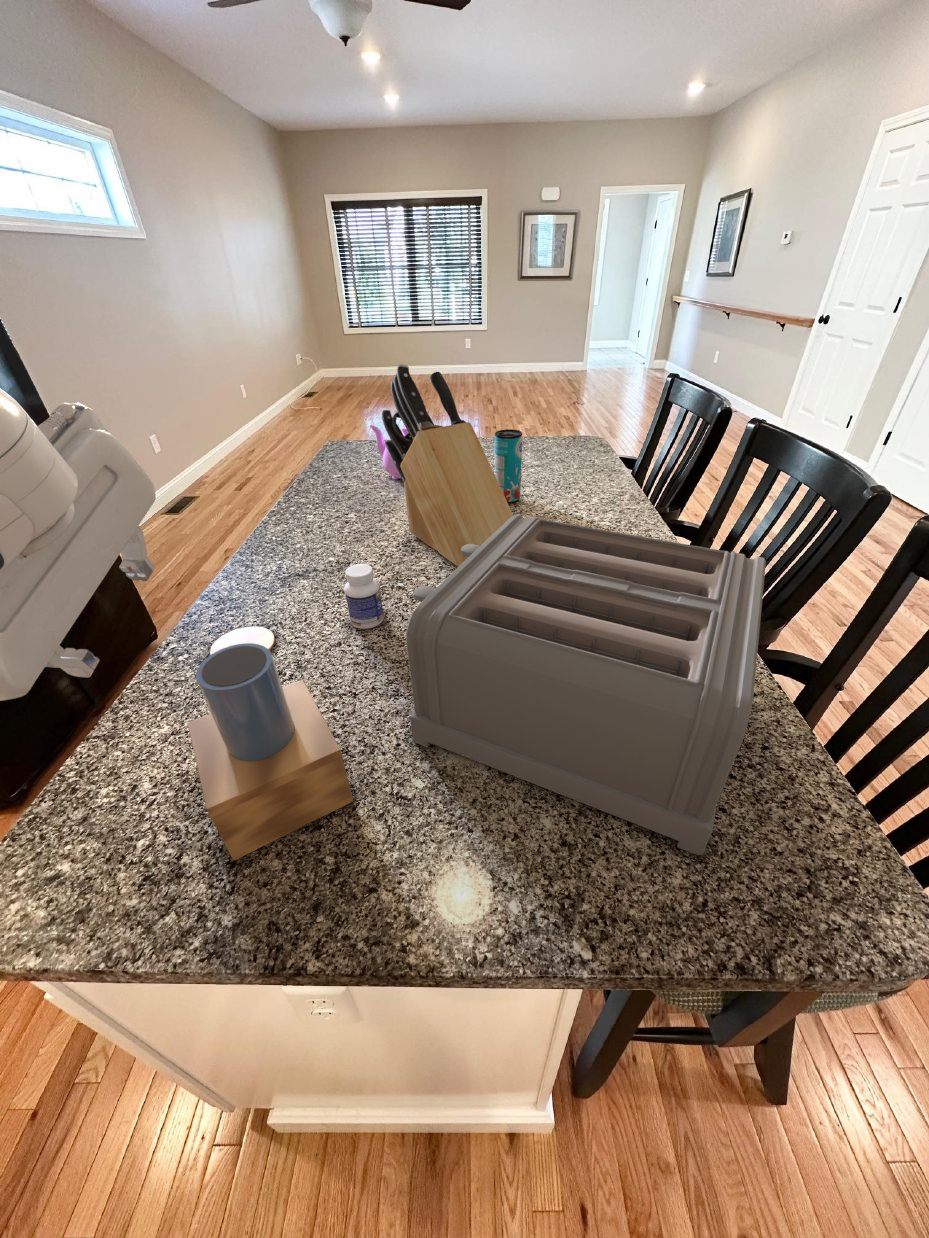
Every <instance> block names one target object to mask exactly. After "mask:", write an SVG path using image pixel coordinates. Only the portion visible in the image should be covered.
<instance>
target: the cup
mask: <svg viewBox="0 0 929 1238" xmlns="http://www.w3.org/2000/svg"><path fill="white" fill-rule="evenodd" d="M195 680H196V682H197V685H198V687H199V690H200V691H201V694H202V696H203V698H204V701H205V703H206V705H207V708H208V709H209V713H210V714H212V716H213V719H214V721H215V723H216V726H217V728H218V730H219V732H220V735H221V737H222V739H223V741H224V744H225V746H226V748H227V750H228V752H229V754H230V755H231V756H232V757H234V758H235V759H238V760H241V761H258V760H262V759H265V758H268V757H270V756H272V755H274V754H276V753H278V752H279V751H281V750H282V749H283V748H284V747H285V746H286V745H287V744H288V743H289V742H290V740H291V738H292V736H293V734H294V728H295V727H294V723H293V719H292V716H291V713H290V710H289V707H288V704H287V701H286V697H285V694H284V691H283V688H282V687H283V685H282V681H281V678H280V675H279V672H278V669H277V666H276V663H275V660H274V656H273V654H272V651H271V650H269V649H267V648H266V647H264V646H262V645H259V644H252V643H245V644H237V645H233V646H229V647H226V648H223V649H221V650H219V651H217V652H215V653H213V654H212V655H210V654H209V656H208V657H206V658H204V660H203V661H202V662H201V663H200V665H199V666H198V668H197V669H196V672H195Z"/></svg>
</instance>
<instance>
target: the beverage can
mask: <svg viewBox="0 0 929 1238" xmlns="http://www.w3.org/2000/svg"><path fill="white" fill-rule="evenodd" d="M522 458H523V432H522V431H521V430H518V429H512V428H511V429H508V428H507V429H500V430H497V431H495V432H494V475H495V477H496V479H497V481H498V483H499V485H500V488H501V490H502V492H503V494H504V496H505V499H506V501H507V503H508V505H511V504H515V503H517V502H519V501H520V499H521V493H522V492H521V489H522V465H523V464H522V460H523V459H522Z"/></svg>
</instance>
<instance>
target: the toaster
mask: <svg viewBox="0 0 929 1238" xmlns="http://www.w3.org/2000/svg"><path fill="white" fill-rule="evenodd" d="M461 554H462V555H463V556H466V557H468V558H467V559H466V560H465V561H464V562H463V563H462V564H461V565H460V566H459V567H456V569H454V571H453V572H452V573H450V575H448V576H447V577H446V578H445V579H444V580H442V582H441V583H440V584H439V585H438V586H437V587H433V586H429V585H421V586H418V587H416V588H415V589H414V590H413V599H414V600H415V601H417V602H420V603H419V604H418V605H417V606H416V607H415V608H414V610H413V611H412V613H411V615H410V618H409V621H408V623H407V627H406V629H405V630H406V631H405V644H406V652H407V660H408V667H409V676H410V684H411V693H412V701H413V707H414V708H413V712H411V714H410V717H409V720H410V721H409V722H410V728H411V736H412V737H411V738H412V741H413V743H415V744H417V745H420V746H422V747H425V748H429V746H430V745H433V746H436V747H439V748H442V749H444V750H447V751H449V752H452V753H454V754H458V755H460V756H462V757H464V758H467V759H469V760H472V761H475V762H477V763H480V764H483V765H485V766H487V767H490V768H493V769H495V770H497V771H500V772H503V773H506V774H507V775H511V776H512V777H515V778H518V779H520V780H523V781H526V782H528V783H531V784H533V785H536V786H538V787H540V788H544V789H545V790H548V791H551V792H554V793H556V794H558V795H561V796H563V797H566V798H569V799H570V800H571V799H572V800H574V801H577V802H579V803H582V804H584V805H587V806H590V807H591V808H594V809H596V810H598V811H601V812H604V813H607V814H610V815H612V816H615V817H617V818H620V819H621V820H625V821H628V822H630V823H632V824H634V825H637V826H640V827H642V828H645V829H648V830H651V831H653V832H655V833H658V834H660V835H663V836H665V837H667V838H670V839H672V840H674V841H677V845H676V848H678V849H679V850H683V851H686V852H688V853H691V854H693V855H696V856H702V855H703V854H704V852H705V850H706V847H707V845H708V843H709V840H710V838H711V835H712V833H713V831H714V825H715V819H716V811H717V806H718V805H717V804H718V802H719V800H720V797H721V796H722V795H721V794H722V793H723V790H724V787H725V785H726V783H727V780H728V778H729V776H730V773H731V770H732V768H733V765H734V763H735V761H736V758H737V756H738V754H739V751H740V749H741V746H742V744H743V740H744V738H745V735H746V732H747V729H748V725H749V722H750V718H751V714H752V708H753V702H754V696H755V695H754V694H755V683H756V682H755V681H756V673H757V663H758V662H757V661H758V650H759V641H760V640H759V639H760V631H761V619H762V608H763V598H764V597H763V596H764V588H765V587H764V586H765V576H766V565H767V560H766V559H765V557H762V556H756V557H754V558H748V557H746V555H745V554H744V553H739V552H736V551H735V550H732V551H731V552H730V551H728V550H722V549H715V548H709V547H705V546H699V545H694V544H693V545H692V544H687V543H681V542H675V541H670V540H663V539H658V538H652V537H647V536H642V535H641V536H640V535H635V534H630V533H625V532H624V533H623V532H619V531H618V532H617V531H612V530H608V529H607V530H606V529H600V528H595V527H589V526H584V525H579V524H573V523H566V522H561V521H555V520H549V519H544V518H541V517H539V516H536V517H534V516H528V517H526V518H524V517H523V516H522V515H521V514H513V516H512V517H511V518H510V519H509V520H508V521H506V522H505V523H504V524H503V525H502V526H501V527H500V528H499V529H498V530H497V531H496V532H495V533H494V534H493V535H492V536H491V537H490V538H488V539H487V540H486V541H485V542H484V543H483V544H482V545H481V546H479V545H474V544H467V545H464V546H463V547H462V548H461Z"/></svg>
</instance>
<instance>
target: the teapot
mask: <svg viewBox="0 0 929 1238" xmlns="http://www.w3.org/2000/svg"><path fill="white" fill-rule="evenodd" d="M369 428H371V430H372V431H373V432H374V434H375V437H376V446H377V451H378V454H379V455H380V457H382V467H383V469H384V470H385V471H386V472H387V473H388V474H389V475H390V476H392V477H391V479H392V480H401V479H402V478H401V476H400V474H399V472H398V470H397V468H396V466H395V464H394V461H393V459H392V457H391V455H390V453H389V451H388V449H387V448H386V445H385V441H386V440H385V439H384V436H383V433H382V431H381V429H380V428H379V427H377V426H375V425H372V424H369ZM401 432H402V433H403V435H404V436H405V435H407V434H408V433H409V432H408V430H407V428H406V427H405V426H403V427H401ZM388 440H391V439H390V438H388Z"/></svg>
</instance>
